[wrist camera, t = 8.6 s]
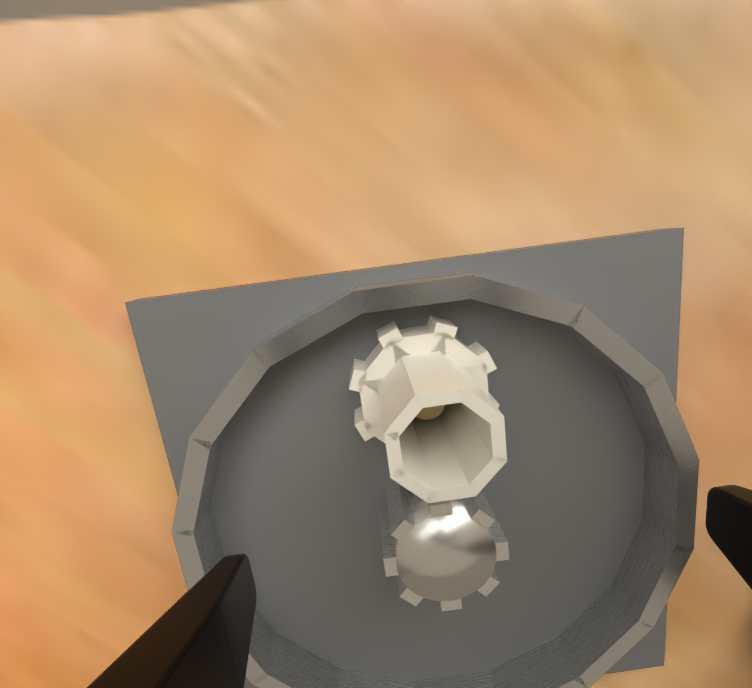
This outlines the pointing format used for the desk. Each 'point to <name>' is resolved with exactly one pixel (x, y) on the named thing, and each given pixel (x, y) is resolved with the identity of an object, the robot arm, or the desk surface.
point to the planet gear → (427, 389)
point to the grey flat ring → (600, 620)
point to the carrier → (369, 458)
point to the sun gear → (440, 546)
